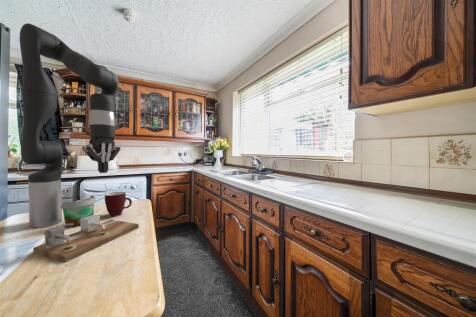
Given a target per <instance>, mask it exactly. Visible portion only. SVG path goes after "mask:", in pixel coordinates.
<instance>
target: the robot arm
mask: <svg viewBox="0 0 476 317" xmlns="http://www.w3.org/2000/svg"><path fill="white" fill-rule="evenodd" d="M19 46H20V54H21V61H22V110H23V111H22V112H23V113H22V114H23V115H22V119H23V120H22V121H23V122H22V124H23V125H22V134H21V142H20V156H21V160H22V161H23V163H24V164H26V165H44V167H43V168H42V169H40V170H38V171H36V172H32V173H30V174H29V175H28V177H27V180H28V181H27V184H28V187H27V188H28V189H27V190H28V214H29V215H28V220H29V224H28V225H29V228H44V227H49V226H53V225H57V224H59V223H62V221H63V208H61V204H62V202H63V201H62V199H63V198H62V174H63V168H64V167H63V165H64V164H63V163H64V162H63V161H64V149H63V147H62V144H61V143H60V142H58V141H53V140H40V134H41V130H42V128H43V126H44V125H45V124H46V123H47V121H49V119H50V118H52V117H53V115H54V114H55V112H57V108H58V92H57V89H56V87H55V85H54V84H53V82H52V81H51V79H50V77H49V75H48V74H47V73H46V71H45V69H44V67H43V65H42V60H41V56H42V57H45V58H47V59H51V60H54V61H55V60H56V61H58V62H61V63H63V65H64V66H65V67H66V68H67V69H68V70H69V71H71V72H72V73H74V74H76V75H77V76H79V77H80V78H81V79H82V81H84V82H85V83H87V84H89V85H90V86H93V87H97V88H99V89H101V92H99V93H97V92H95V93H91V94H90V97H89V115H88V121H89V122H88V124H89V125H88V126H89V129H88V131H89V137H90V139H89V141H88V144H86V145H85V146H82V148H81V150H82V151H83V152H84V153H85V154H86V155H87V157H89V160H91V161H92V162H96V163H97V171H98V172H99V173H100V174H106V173H108V172H109V162H110V161H114V160H115V159H116V156H117V155H118V154H119V152H120V151H121V150H122V148H121V147H120V146H117V145H116V142H115V138H116V118H115V104H114V102H115V99H116V96H117V92H118V91H119V90H118V89H119V86H120V82H119V78H118V76H117V74H116V73H115V72H113V71H112V70H109V69H107V68H105V67H102V66H100V65H98V64H96V63H94V61H93V60H91V59H89V58H88V57H86V56H84V55H83V54H81V53H79V52H77V51H75V50H73V49H72V48H70V47H69V46H68V45H67V44H66V43H65V42H64V41H63V40H62V39H60V38H59V37H58V36H57V35H55V34H53V33H50V31H46V30H45V29H43V28H41V27H40V26H39V27H38V26H36V25H34V24H32V23H25V24H23V25H22V26H21V28H20V31H19Z"/></svg>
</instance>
